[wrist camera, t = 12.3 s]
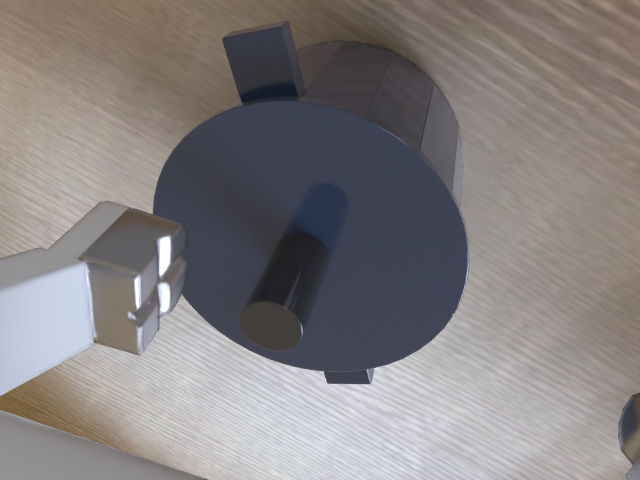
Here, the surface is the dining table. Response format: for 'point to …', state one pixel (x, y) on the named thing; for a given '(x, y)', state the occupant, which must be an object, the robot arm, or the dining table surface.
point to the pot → (350, 97)
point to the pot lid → (315, 233)
